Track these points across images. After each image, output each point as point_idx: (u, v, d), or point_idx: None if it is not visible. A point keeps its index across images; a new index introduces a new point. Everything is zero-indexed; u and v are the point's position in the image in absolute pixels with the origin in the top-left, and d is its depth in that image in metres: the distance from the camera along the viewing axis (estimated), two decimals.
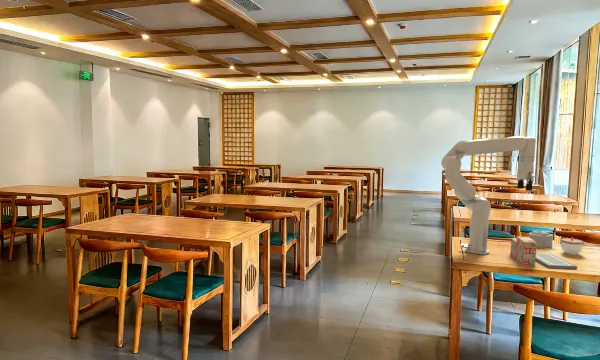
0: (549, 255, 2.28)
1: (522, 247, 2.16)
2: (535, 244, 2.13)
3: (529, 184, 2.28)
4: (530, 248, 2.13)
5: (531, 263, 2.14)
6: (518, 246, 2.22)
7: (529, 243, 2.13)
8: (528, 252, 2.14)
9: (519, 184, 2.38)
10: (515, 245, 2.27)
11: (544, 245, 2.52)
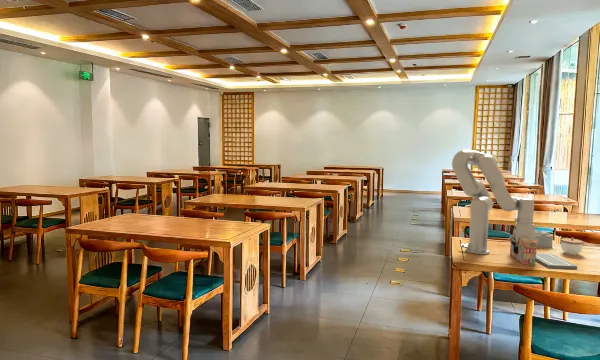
0: (549, 255, 2.28)
1: (522, 247, 2.16)
2: (535, 244, 2.13)
3: None
4: (530, 247, 2.14)
5: (531, 263, 2.14)
6: (518, 246, 2.23)
7: (529, 243, 2.14)
8: (528, 252, 2.14)
9: None
10: None
11: (544, 245, 2.52)
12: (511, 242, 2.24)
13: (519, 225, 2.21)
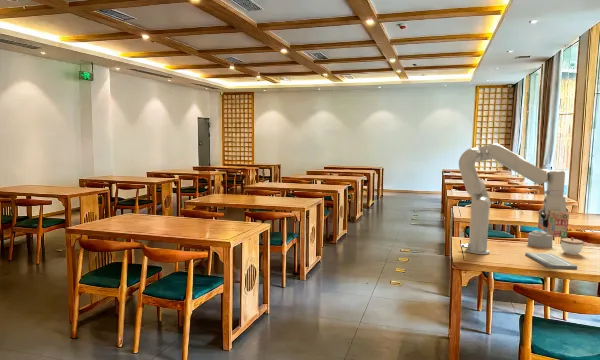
0: (549, 255, 2.28)
1: (553, 219, 2.11)
2: (567, 215, 2.08)
3: None
4: (562, 219, 2.08)
5: (563, 235, 2.09)
6: (548, 219, 2.17)
7: (561, 214, 2.08)
8: (560, 224, 2.09)
9: None
10: None
11: (544, 245, 2.52)
12: (541, 215, 2.19)
13: (549, 197, 2.16)
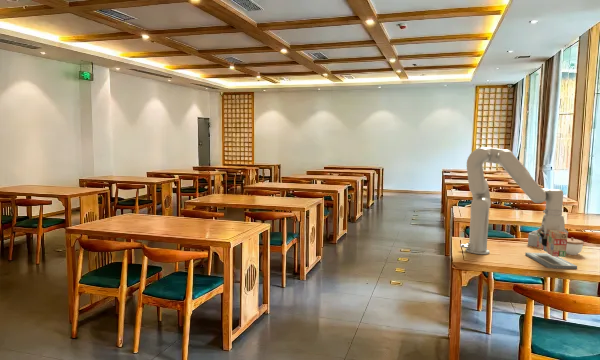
0: (549, 255, 2.28)
1: (552, 238, 2.12)
2: (566, 235, 2.09)
3: None
4: (561, 239, 2.09)
5: (562, 254, 2.10)
6: (547, 238, 2.18)
7: (560, 234, 2.09)
8: (559, 243, 2.10)
9: None
10: None
11: None
12: (539, 234, 2.19)
13: (548, 217, 2.17)
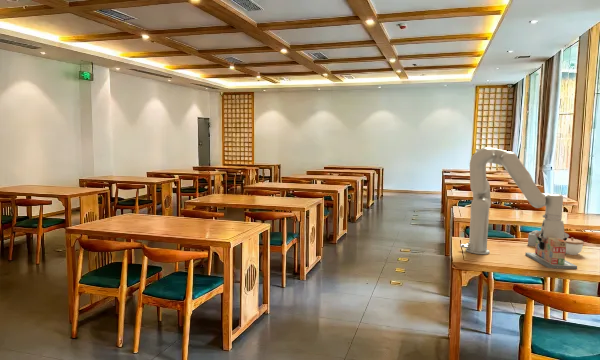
0: None
1: (551, 246, 2.12)
2: (565, 243, 2.09)
3: None
4: (560, 247, 2.10)
5: (560, 262, 2.11)
6: (545, 245, 2.19)
7: (559, 242, 2.10)
8: (557, 251, 2.10)
9: None
10: None
11: None
12: (537, 237, 2.20)
13: (547, 221, 2.17)
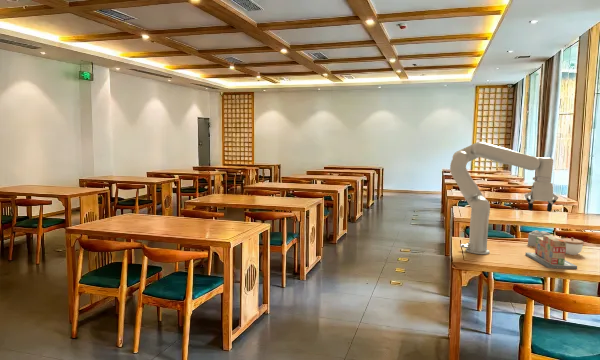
0: None
1: (551, 246, 2.12)
2: (565, 243, 2.09)
3: None
4: (560, 247, 2.10)
5: (560, 262, 2.11)
6: (545, 245, 2.19)
7: (559, 242, 2.10)
8: (557, 251, 2.10)
9: None
10: (541, 244, 2.24)
11: None
12: (526, 198, 2.27)
13: (537, 183, 2.24)
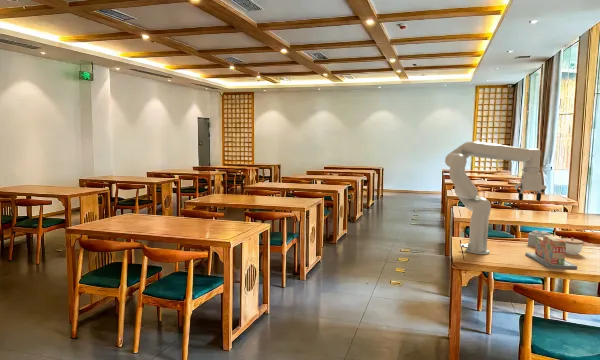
0: None
1: (551, 246, 2.12)
2: (565, 243, 2.09)
3: None
4: (560, 247, 2.10)
5: (560, 262, 2.11)
6: (545, 245, 2.19)
7: (559, 242, 2.10)
8: (557, 251, 2.10)
9: None
10: (541, 244, 2.24)
11: None
12: (516, 189, 2.36)
13: (526, 174, 2.33)
